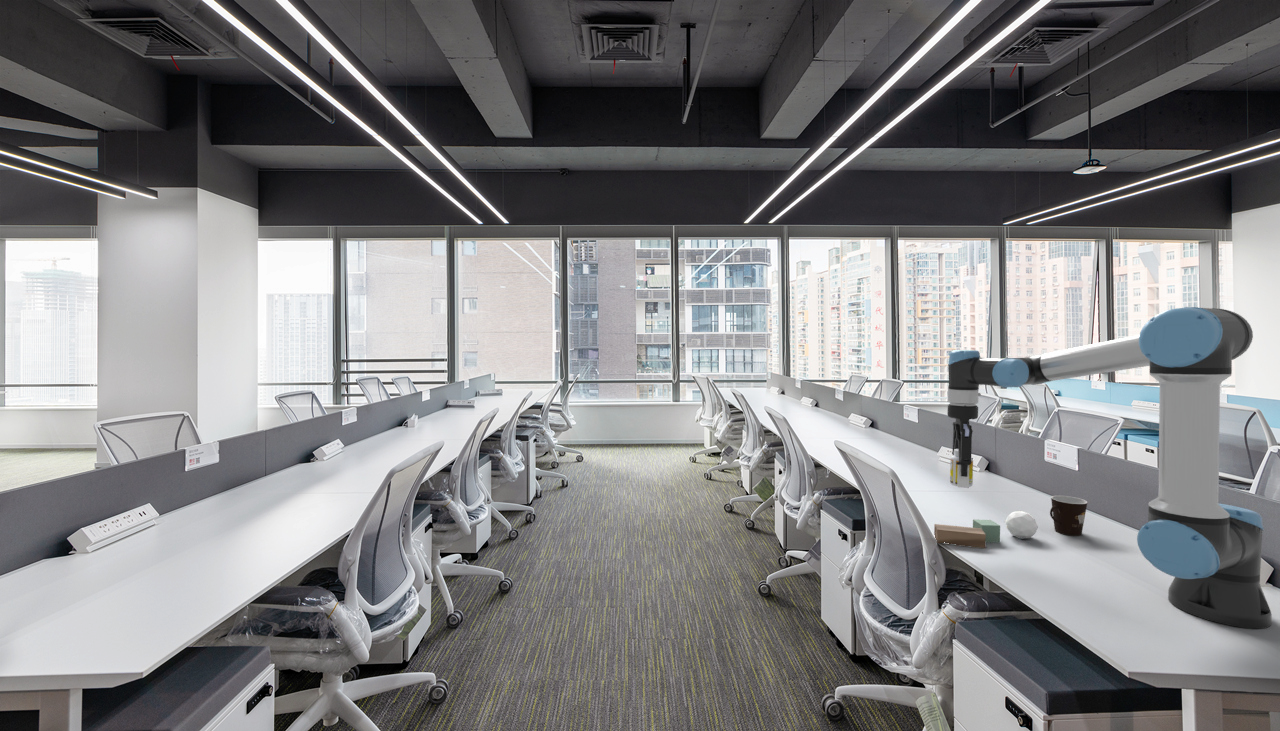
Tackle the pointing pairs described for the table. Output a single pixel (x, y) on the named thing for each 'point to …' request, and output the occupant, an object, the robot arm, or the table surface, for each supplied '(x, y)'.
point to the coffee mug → (1068, 514)
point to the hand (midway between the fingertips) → (960, 484)
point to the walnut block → (960, 535)
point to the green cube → (988, 529)
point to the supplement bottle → (955, 469)
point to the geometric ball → (1021, 524)
